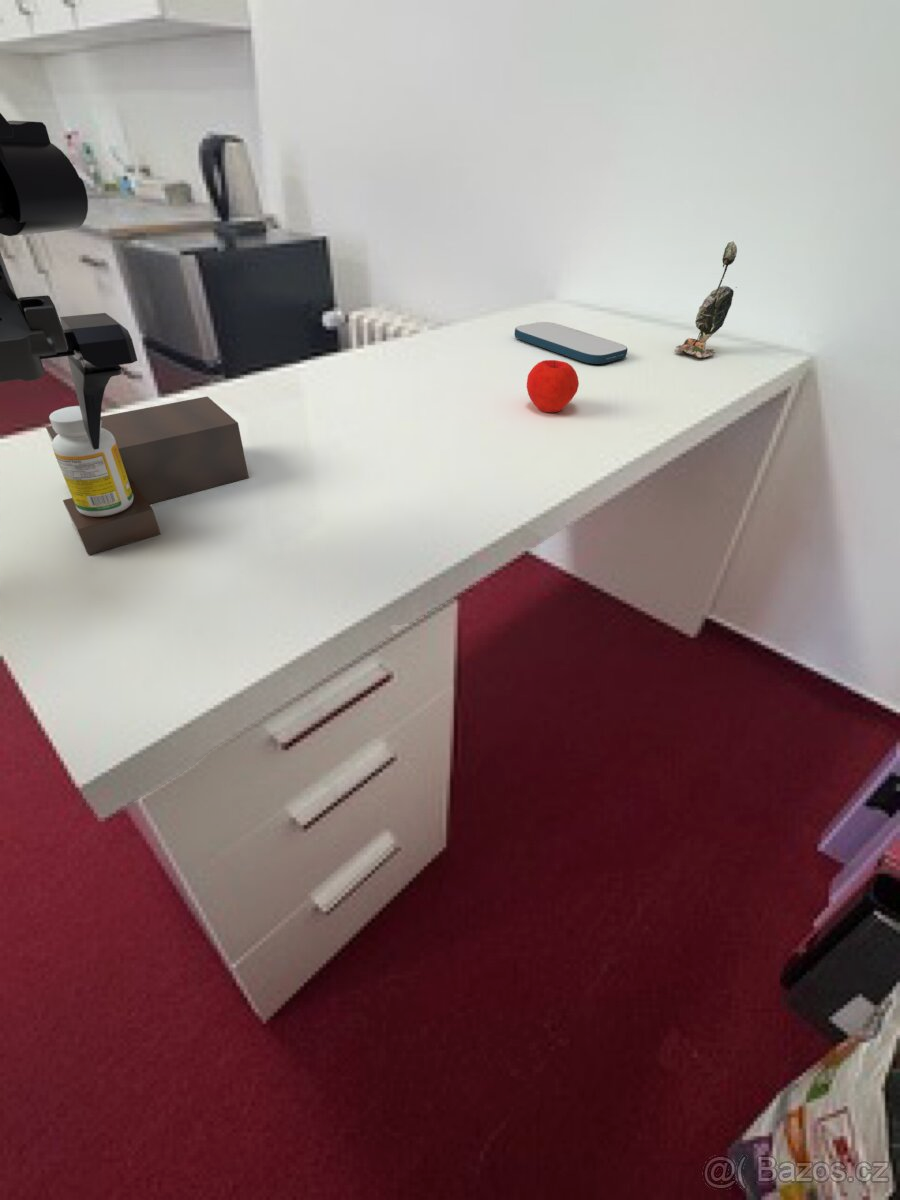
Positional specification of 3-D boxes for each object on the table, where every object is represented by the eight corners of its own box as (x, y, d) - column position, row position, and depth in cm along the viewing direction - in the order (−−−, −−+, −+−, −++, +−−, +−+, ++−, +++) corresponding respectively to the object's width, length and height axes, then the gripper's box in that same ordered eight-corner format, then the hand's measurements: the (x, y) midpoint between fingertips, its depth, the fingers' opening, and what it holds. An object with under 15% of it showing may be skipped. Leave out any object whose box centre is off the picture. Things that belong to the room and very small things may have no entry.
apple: (568, 399, 97) (575, 353, 93) (579, 418, 91) (588, 369, 87) (520, 399, 97) (525, 352, 92) (528, 418, 91) (534, 368, 86)
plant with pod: (730, 353, 121) (766, 240, 109) (696, 362, 116) (730, 244, 103) (696, 343, 126) (727, 234, 114) (662, 351, 121) (691, 237, 108)
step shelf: (88, 555, 59) (61, 492, 55) (54, 487, 69) (30, 429, 65) (272, 501, 68) (263, 444, 64) (219, 448, 79) (207, 396, 74)
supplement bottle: (107, 523, 58) (71, 429, 52) (64, 511, 59) (25, 419, 53) (146, 498, 62) (118, 408, 56) (106, 488, 63) (73, 399, 57)
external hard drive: (507, 337, 125) (508, 327, 123) (545, 330, 130) (547, 320, 129) (594, 368, 111) (596, 357, 109) (632, 358, 116) (634, 347, 115)
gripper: (-262, 271, 30) (-103, 533, 40) (127, 253, 40) (181, 469, 49) (-239, 242, 37) (-108, 472, 47) (88, 233, 47) (142, 426, 56)
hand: (35, 459), depth 49 cm, fingers open, 9 cm apart
